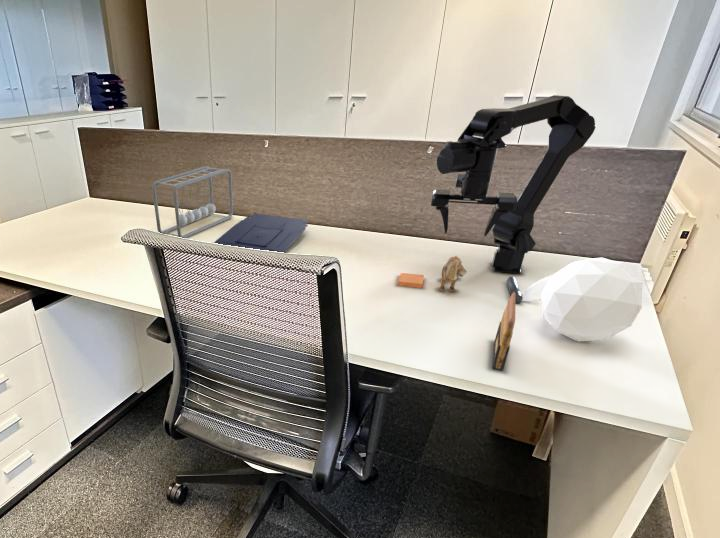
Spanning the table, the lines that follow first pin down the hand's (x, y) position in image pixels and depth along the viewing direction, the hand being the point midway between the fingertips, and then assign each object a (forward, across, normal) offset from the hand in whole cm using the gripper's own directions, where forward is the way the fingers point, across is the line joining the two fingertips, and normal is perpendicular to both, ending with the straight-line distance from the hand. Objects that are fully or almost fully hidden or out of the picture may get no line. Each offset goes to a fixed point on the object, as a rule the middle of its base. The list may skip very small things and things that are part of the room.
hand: (465, 234), depth 123 cm
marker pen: (+12, -12, +6) cm, 18 cm away
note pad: (+12, +11, +6) cm, 17 cm away
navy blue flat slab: (+12, +59, -14) cm, 62 cm away
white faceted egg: (+12, -23, +19) cm, 32 cm away
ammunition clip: (+12, -8, +38) cm, 41 cm away
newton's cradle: (+12, +87, -24) cm, 91 cm away
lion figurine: (+12, +1, +6) cm, 13 cm away
